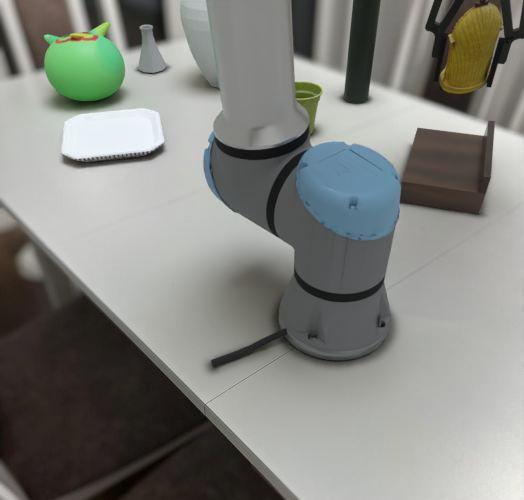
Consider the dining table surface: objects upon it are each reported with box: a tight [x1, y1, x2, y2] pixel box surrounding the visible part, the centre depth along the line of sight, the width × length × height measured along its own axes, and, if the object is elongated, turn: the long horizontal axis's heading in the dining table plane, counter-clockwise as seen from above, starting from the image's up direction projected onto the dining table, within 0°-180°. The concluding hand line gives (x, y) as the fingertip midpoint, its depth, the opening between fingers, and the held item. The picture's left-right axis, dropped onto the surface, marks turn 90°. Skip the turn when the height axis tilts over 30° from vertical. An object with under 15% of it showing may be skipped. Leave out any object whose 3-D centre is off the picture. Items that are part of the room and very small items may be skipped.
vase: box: [179, 0, 220, 89], centre depth 124 cm, size 18×18×25 cm
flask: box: [137, 24, 168, 74], centre depth 137 cm, size 7×7×10 cm
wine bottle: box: [343, 0, 382, 104], centre depth 115 cm, size 6×6×30 cm
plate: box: [60, 107, 166, 163], centre depth 112 cm, size 21×21×2 cm
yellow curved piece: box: [437, 0, 504, 96], centre depth 84 cm, size 12×8×15 cm
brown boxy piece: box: [400, 120, 496, 215], centre depth 98 cm, size 22×14×7 cm, turn 162°
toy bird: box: [43, 21, 126, 102], centre depth 123 cm, size 18×17×15 cm
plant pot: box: [295, 80, 324, 135], centre depth 111 cm, size 9×9×9 cm
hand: (462, 81), depth 88 cm, fingers closed on yellow curved piece, 8 cm apart
